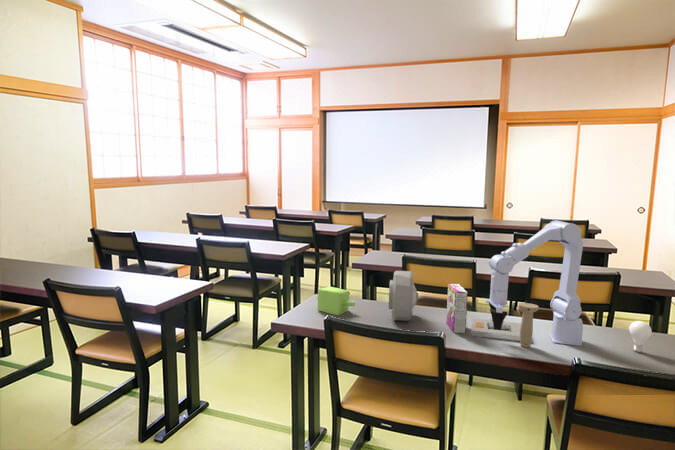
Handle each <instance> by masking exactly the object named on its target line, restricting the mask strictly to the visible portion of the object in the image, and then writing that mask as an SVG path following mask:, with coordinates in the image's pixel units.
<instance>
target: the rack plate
mask: <svg viewBox="0 0 675 450" xmlns="http://www.w3.org/2000/svg"><path fill="white" fill-rule="evenodd" d="M470 326H471V327H470V329H471V336H472V337H480V338H488V339H496V340H504V341H513V342H514V341H515V342H521V341H520V330H521V322H520V323H519V322H512V321H511V322H510V321H503V324H502V327H501V330H494V326H493V321H492V319H485V318H473V317H471V318H470ZM507 330H508V331H507Z"/></svg>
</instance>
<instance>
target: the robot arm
mask: <svg viewBox="0 0 675 450" xmlns="http://www.w3.org/2000/svg"><path fill="white" fill-rule="evenodd" d="M544 225H545V226H544V227H543V228H542V229H541V230H539V231H538V232H536V233H535V234H534V235H532V236H531V237H530V238H529V239H527V240H526V241H524V242H523V243H522V242H517V243H516V242H514V243H512V244H511V246H510V247H509V248H507V249H506V250H504V251H501V252H500V254H495V255H493V256H492V257H491V259H490V261H488V266H489V268H490V269H491V275H490V277H491V278H490V290H489V291H490V292H489V293H490V294H489V299H488V298H486V300H485V301H486V303H488V305H489V307H490V309H489V311H490V314H491V320H492V321H493V326H494V328H493V330H498V331H502V329H501V327H502V324H503V321H504V320H505V319H506V317H507V316H508V314H509V313H508V311H504V308H505V307H507V305H508V291H509V290H508V289H509V278H510V277H509V276H510V273H511V272H512V270H513V268H514V266H516V265H517V264H518V263H520V262H521V261H523V260H525V259H526V258H527V257H529V255H530V252H531V251H533V250H534V249H536V248H538V247H540V246H542V245H543V244H545V243H547V242H549V241H558V242H559V243H560V244H561V245H562V247H564V254H563V260H562V266H561V267H562V268H561V273H560V281H559V287H558V290H555V292H554V293H553V297H552V299H551V301H550V304H549V305H550V309H551V310H552V313H553V319H552V330H551V333H548V336H549V338H550V340H551V342H552V343H554V344H563V345H570V346H572V345H573V346H579V347H581V346H582V345H583V344H582V340H583V330H584V323H583V320H582V318H580V316H581V315H582V307H581V298H580V296H579V295H578V293H577V289H578V283H579V274H580V268H581V261H582V256H583V255H582V254H583V249H584V242H583V239H582V232H583V231H582V229H581V228H580V227H579V226H578V225H577V224H575V223H573V222H572V223H571V222H565V221H562V220H558V219H556V220H551V221H550V222H549V223H547V224H544ZM504 322H505V321H504Z"/></svg>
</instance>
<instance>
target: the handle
mask: <svg viewBox="0 0 675 450" xmlns="http://www.w3.org/2000/svg"><path fill="white" fill-rule="evenodd" d="M518 309H519V310H520V311H522V314H521V315H522V316H521V321H520V323H521V330H520V341H519V342H520V346H521V347H524V348H525V349H526V348H530V347H531V342H532V340H533V333H534V328H533V327H534V324H533V323H534V313H535V312H537V311H539V305H537V304H535V303H534V304H533V303H528V302H519V303H518Z"/></svg>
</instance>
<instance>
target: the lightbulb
mask: <svg viewBox="0 0 675 450" xmlns="http://www.w3.org/2000/svg"><path fill="white" fill-rule="evenodd" d="M628 331H629V335H630V336H631V338H632V342H633V351H634V352H636V353H642V352H643V350H644V344H645V343H646V341H647V340H648V339H649V338H650V337H651V335H652V333H653V332H652V331H653V330H652V328H651V326H650V325H649V324H648V322H645V321H642V320H635V321H633V322H631V324H629V327H628Z"/></svg>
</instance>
